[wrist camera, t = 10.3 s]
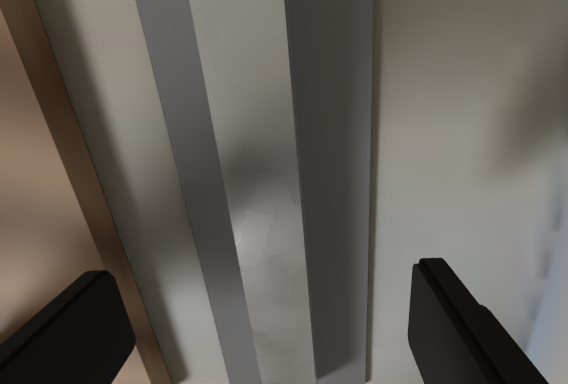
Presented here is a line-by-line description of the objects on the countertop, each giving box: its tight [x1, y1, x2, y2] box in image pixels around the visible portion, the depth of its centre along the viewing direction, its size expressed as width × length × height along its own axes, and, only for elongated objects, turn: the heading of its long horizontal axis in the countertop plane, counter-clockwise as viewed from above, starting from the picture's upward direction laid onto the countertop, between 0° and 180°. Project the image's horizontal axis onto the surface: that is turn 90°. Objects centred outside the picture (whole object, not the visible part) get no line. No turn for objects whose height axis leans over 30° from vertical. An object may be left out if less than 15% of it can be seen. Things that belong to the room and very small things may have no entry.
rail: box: [189, 0, 318, 384], centre depth 12 cm, size 22×2×2 cm, turn 6°
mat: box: [136, 0, 374, 384], centre depth 13 cm, size 24×8×1 cm, turn 5°
